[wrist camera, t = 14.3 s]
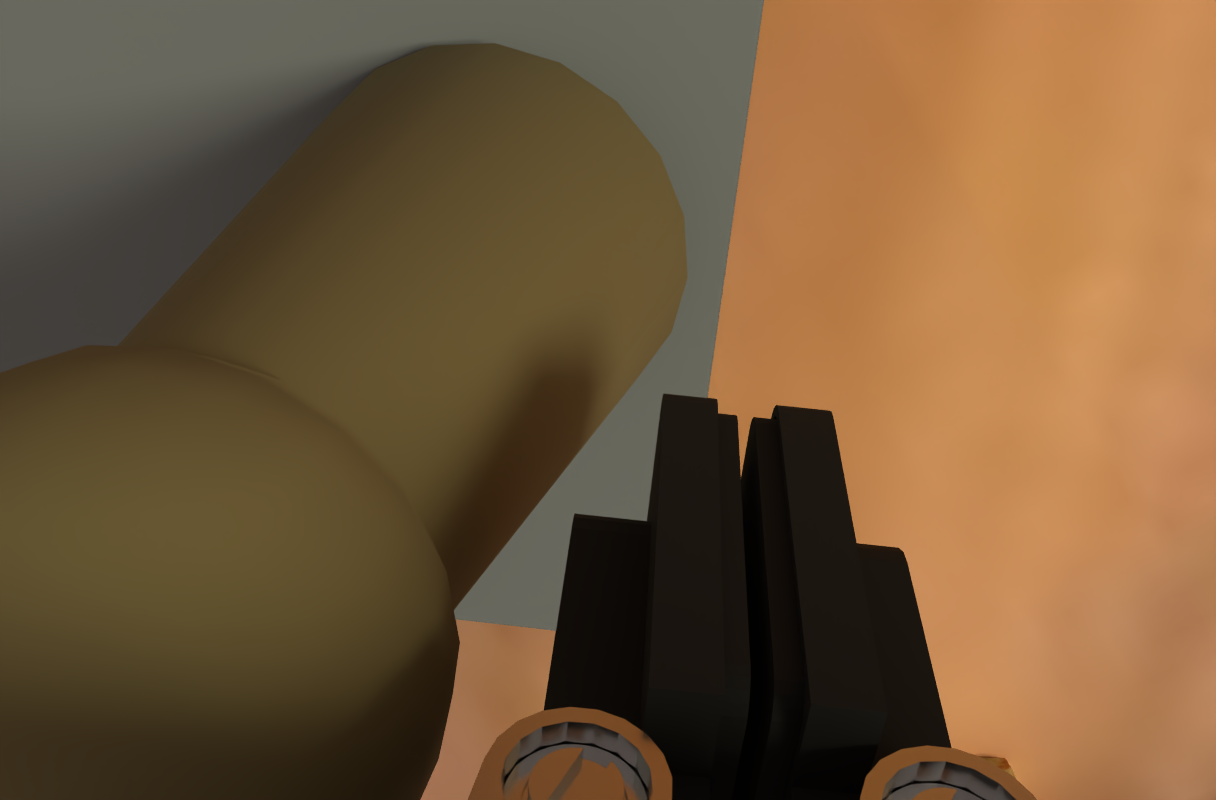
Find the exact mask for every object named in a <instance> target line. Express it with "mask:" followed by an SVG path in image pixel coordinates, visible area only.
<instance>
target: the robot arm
mask: <svg viewBox="0 0 1216 800" xmlns="http://www.w3.org/2000/svg"><path fill="white" fill-rule="evenodd" d="M468 800H1036V798H1035V797H1034V795H1033V794H1031V793H1030V792H1029V791H1028V790H1027V789H1026V788H1025V787H1024V786H1023V785H1022V784H1021V783H1020V782H1019V781H1017V780H1016V779H1015V778H1014V777H1013V776H1012V775H1011V774H1009V773H1007V772H1006V771H1004V770H1002V769H1001V768H999V767H997V766H996V765H994V764H992V763H991V762H989V761H987V760H986V759H984V758H981V757H978V756H975V755H972V754H969V753H967V752H964V751H961V750H958V749H954V748H951V744H950V740H949V735H948V731H947V727H946V723H945V719H944V714H943V710H942V706H941V702H940V698H939V693H938V689H937V685H936V681H935V677H934V673H933V668H932V664H931V660H930V656H929V652H928V647H927V643H926V639H925V635H924V631H923V626H922V622H921V618H920V614H919V610H918V605H917V601H916V597H915V593H914V589H913V585H912V580H911V576H910V572H909V568H908V564H907V561H906V558H905V555H904V552H903V551H902V550H900V549H899V548H895V547H886V546H876V545H867V544H858V543H856V538H855V532H854V527H853V522H852V516H851V511H850V505H849V500H848V494H847V489H846V484H845V478H844V473H843V467H842V462H841V457H840V451H839V446H838V440H837V435H836V429H835V424H834V419H833V415H832V412H831V411H827V410H818V409H808V408H798V407H789V406H779V405H776V406H775V408H774V410H773V413H772V417H771V419H766V418H756V417H753V419H752V422H751V425H750V430H749V436H748V442H747V447H746V453H745V459H744V465H743V470H742V476H741V475H740V456H739V437H738V420H737V416H736V415H728V414H718V403H717V399H712V398H703V397H693V396H683V395H674V394H664V393H663V396H662V403H661V410H660V418H659V426H658V434H657V442H656V450H655V458H654V466H653V475H652V483H651V491H650V499H649V507H648V515H647V521H641V520H631V519H622V518H613V517H603V516H594V515H584V514H574V517H573V523H572V529H571V536H570V542H569V549H568V555H567V562H566V568H565V575H564V581H563V588H562V595H561V601H560V608H559V614H558V621H557V627H556V634H555V640H554V647H553V654H552V660H551V667H550V673H549V680H548V686H547V693H546V699H545V706H544V711H541V712H538V713H536V714H533V715H531V716H528V717H526V718H524V719H521V720H519V721H517V722H516V723H515V724H513V725H512V726H511V727H510V728H508V729H507V730H506V731H505V732H503V733H502V734H501V735H500V736H498V737H497V739H496V740H495V742H494V744H493V745H492V747H491V748H490V750H489V752H488V753H487V755H486V756H485V758H484V760H483V763H482V765H481V768H480V770H479V773H478V775H477V778H476V780H475V783H474V785H473V788H472V790H471V793H470V795H469V798H468Z"/></svg>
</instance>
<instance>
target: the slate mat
mask: <svg viewBox="0 0 1216 800" xmlns="http://www.w3.org/2000/svg"><path fill="white" fill-rule="evenodd" d="M763 3H764V0H0V373H1V372H4V371H7V370H9V369H12V368H15V367H18V366H21V365H24V364H27V363H30V362H33V361H36V360H39V359H43V358H46V357H49V356H53V355H56V354H59V353H62V352H66V351H69V350H72V349H75V348H79V347H82V346H85V345H100V346H118V345H119V344H120V342H121V341H122V340H123V339H124V338H125V337H126V336H127V335H128V334H129V333H130V332H131V330H132V329H133V328H134V327H135V326H136V325H137V324H138V323H139V322H140V321H141V320H142V318H143V317H144V316H145V315H146V314H147V313H148V312H149V311H150V310H151V309H152V307H153V306H154V305H155V304H156V303H157V302H158V301H159V300H160V299H161V298H162V297H163V295H164V294H165V293H166V292H167V291H168V290H169V289H170V288H171V287H172V286H173V285H174V283H175V282H176V281H177V280H178V279H179V278H180V277H181V276H182V275H183V274H184V273H185V271H186V270H187V269H188V268H189V267H190V266H191V265H192V264H193V263H194V262H195V260H196V259H197V258H198V257H199V256H200V255H201V254H202V253H203V252H204V251H205V250H206V248H207V247H208V246H209V245H210V244H211V243H212V242H213V241H214V240H215V239H216V238H217V236H218V235H219V234H220V233H221V232H222V231H223V230H224V229H225V228H226V227H227V226H228V224H229V223H230V222H231V221H232V220H233V219H234V218H235V217H236V216H237V215H238V213H239V212H240V211H241V210H242V209H243V208H244V207H245V206H246V205H247V204H248V203H249V201H250V200H251V199H252V198H253V197H254V196H255V195H256V194H257V193H258V192H259V191H260V189H261V188H262V187H263V186H264V185H265V184H266V183H267V182H268V181H269V180H270V179H271V177H272V176H273V175H274V174H275V173H276V172H277V171H278V170H279V169H280V168H281V166H282V165H283V164H284V163H285V162H286V161H287V160H288V159H289V158H290V157H291V156H292V154H293V153H294V152H295V151H296V150H297V149H298V148H299V147H300V146H301V145H302V144H303V142H304V141H305V140H306V139H307V138H308V137H309V136H310V135H311V134H312V133H313V132H314V130H315V129H316V128H317V127H318V126H319V125H320V124H321V123H322V122H323V121H324V120H325V118H326V117H327V116H328V115H329V114H330V113H331V112H332V111H333V110H334V109H335V108H336V107H337V106H338V105H339V104H340V103H341V102H342V101H343V100H344V99H345V98H346V97H347V96H348V95H349V94H350V93H351V92H352V91H353V90H354V89H355V88H356V87H357V86H358V85H359V84H360V83H361V82H363V81H364V80H365V79H366V78H367V77H368V76H369V75H370V74H371V73H372V72H373V71H374V70H375V69H376V68H379V67H381V66H383V65H386V64H388V63H391V62H393V61H395V60H398V59H400V58H403V57H405V56H408V55H410V54H412V53H415V52H417V51H420V50H422V49H424V48H427V47H429V46H434V45H461V44H487V43H496V44H500V45H503V46H506V47H510V48H513V49H516V50H520V51H523V52H526V53H530V54H533V55H536V56H540V57H543V58H546V59H550V60H553V61H556V62H560V63H561V64H563V65H564V66H566V67H567V68H569V69H570V70H572V71H573V72H575V73H576V74H578V75H579V76H580V77H582V78H583V79H585V80H586V81H588V82H589V83H591V84H592V85H594V86H595V87H597V88H598V89H600V90H601V91H602V92H604V93H605V94H607V95H608V96H610V97H611V98H613V99H614V100H616V101H617V102H618V103H619V104H620V106H621V107H622V108H623V109H624V111H625V112H626V113H627V114H628V116H629V117H630V118H631V119H632V121H633V122H634V123H635V124H636V126H637V127H638V128H639V129H640V131H641V132H642V133H643V134H644V136H645V137H646V138H647V139H648V141H649V142H650V143H651V144H652V146H653V147H654V148H655V149H656V151H657V152H658V153H659V154H660V156H661V158H662V161H663V163H664V166H665V169H666V171H667V174H668V176H669V179H670V181H671V184H672V186H673V189H674V192H675V194H676V197H677V199H678V202H679V204H680V207H681V209H682V212H683V215H684V221H685V240H686V258H687V277H688V278H687V281H686V285H685V288H684V291H683V295H682V298H681V302H680V305H679V308H678V312H677V315H676V319H675V322H674V325H673V329H672V332H671V334H670V335H669V336H668V338H667V339H666V340H665V342H664V343H663V344H662V346H661V347H660V349H659V350H658V351H657V353H656V354H655V355H654V357H653V358H652V359H651V361H650V362H649V363H648V365H647V366H646V367H645V369H644V370H643V371H642V373H641V374H640V375H639V377H638V378H637V379H636V381H635V382H634V383H633V384H632V386H631V387H630V388H629V389H628V391H627V392H626V393H625V394H624V396H623V397H622V398H621V400H620V401H619V402H618V403H617V405H616V406H615V407H614V408H613V410H612V411H611V412H610V413H609V415H608V416H607V417H606V419H605V420H604V421H603V422H602V424H601V425H600V426H599V427H598V429H597V430H596V431H595V432H594V434H593V435H592V436H591V438H590V439H589V440H588V441H587V443H586V444H585V445H584V446H583V448H582V449H581V450H580V451H579V453H578V454H577V455H576V456H575V458H574V459H573V460H572V462H571V463H570V464H569V465H568V467H567V468H566V469H565V470H564V472H563V473H562V474H561V475H560V477H559V478H558V479H557V481H556V482H555V483H554V484H553V486H552V487H551V488H550V489H549V491H548V492H547V493H546V494H545V496H544V497H543V498H542V500H541V501H540V502H539V503H538V505H537V506H536V507H535V508H534V510H533V511H532V512H531V513H530V515H529V516H528V517H527V519H526V520H525V521H524V522H523V524H522V525H521V526H520V527H519V529H518V530H517V531H516V532H515V534H514V535H513V536H512V538H511V539H510V540H509V541H508V543H507V544H506V545H505V546H504V548H503V549H502V550H501V551H500V553H499V554H498V555H497V556H496V558H495V559H494V560H493V562H492V563H491V564H490V565H489V567H488V568H487V569H486V570H485V572H484V573H483V574H482V575H481V577H480V578H479V579H478V581H477V582H476V583H475V584H474V586H473V587H472V588H471V589H470V591H469V592H468V593H467V594H466V596H465V597H464V598H463V600H462V601H461V602H460V603H459V605H458V606H457V607H456V608H455V610H454V614H455V619H459V620H467V621H476V622H485V623H493V624H502V625H511V626H520V627H528V628H537V629H546V630H554V631H556V627H557V621H558V614H559V608H560V601H561V595H562V588H563V581H564V575H565V568H566V562H567V555H568V549H569V542H570V536H571V529H572V523H573V517H574V514H584V515H594V516H603V517H613V518H622V519H631V520H641V521H647V515H648V507H649V499H650V491H651V483H652V475H653V466H654V458H655V450H656V442H657V434H658V426H659V418H660V410H661V403H662V396H663V393H664V394H674V395H683V396H693V397H703V398H707V397H708V390H709V383H710V376H711V369H712V362H713V355H714V348H715V341H716V333H717V326H718V319H719V312H720V305H721V298H722V291H723V284H724V277H725V270H726V263H727V256H728V249H729V242H730V235H731V228H732V221H733V214H734V207H735V200H736V193H737V186H738V179H739V172H740V165H741V158H742V151H743V144H744V137H745V129H746V122H747V115H748V108H749V101H750V94H751V87H752V80H753V73H754V66H755V59H756V52H757V45H758V38H759V31H760V24H761V17H762V10H763Z"/></svg>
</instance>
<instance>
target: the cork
mask: <svg viewBox="0 0 1216 800" xmlns="http://www.w3.org/2000/svg"><path fill="white" fill-rule="evenodd" d="M687 278H688V277H687V258H686V240H685V221H684V215H683V212H682V209H681V207H680V204H679V202H678V199H677V197H676V194H675V192H674V189H673V186H672V184H671V181H670V179H669V176H668V174H667V171H666V169H665V166H664V163H663V161H662V158H661V156H660V154H659V153H658V152H657V151H656V149H655V148H654V147H653V146H652V144H651V143H650V142H649V141H648V139H647V138H646V137H645V136H644V134H643V133H642V132H641V131H640V129H639V128H638V127H637V126H636V124H635V123H634V122H633V121H632V119H631V118H630V117H629V116H628V114H627V113H626V112H625V111H624V109H623V108H622V107H621V106H620V104H619V103H618V102H617V101H616V100H614V99H613V98H611V97H610V96H608V95H607V94H605V93H604V92H602V91H601V90H600V89H598V88H597V87H595V86H594V85H592V84H591V83H589V82H588V81H586V80H585V79H583V78H582V77H580V76H579V75H578V74H576V73H575V72H573V71H572V70H570V69H569V68H567V67H566V66H564V65H563V64H561V63H560V62H556V61H553V60H550V59H546V58H543V57H540V56H536V55H533V54H530V53H526V52H523V51H520V50H516V49H513V48H510V47H506V46H503V45H500V44H496V43H487V44H461V45H434V46H429V47H427V48H424V49H422V50H420V51H417V52H415V53H412V54H410V55H408V56H405V57H403V58H400V59H398V60H395V61H393V62H391V63H388V64H386V65H383V66H381V67H379V68H376V69H375V70H374V71H373V72H372V73H371V74H370V75H369V76H368V77H367V78H366V79H365V80H364V81H363V82H361V83H360V84H359V85H358V86H357V87H356V88H355V89H354V90H353V91H352V92H351V93H350V94H349V95H348V96H347V97H346V98H345V99H344V100H343V101H342V102H341V103H340V104H339V105H338V106H337V107H336V108H335V109H334V110H333V111H332V112H331V113H330V114H329V115H328V116H327V117H326V118H325V120H324V121H323V122H322V123H321V124H320V125H319V126H318V127H317V128H316V129H315V130H314V132H313V133H312V134H311V135H310V136H309V137H308V138H307V139H306V140H305V141H304V142H303V144H302V145H301V146H300V147H299V148H298V149H297V150H296V151H295V152H294V153H293V154H292V156H291V157H290V158H289V159H288V160H287V161H286V162H285V163H284V164H283V165H282V166H281V168H280V169H279V170H278V171H277V172H276V173H275V174H274V175H273V176H272V177H271V179H270V180H269V181H268V182H267V183H266V184H265V185H264V186H263V187H262V188H261V189H260V191H259V192H258V193H257V194H256V195H255V196H254V197H253V198H252V199H251V200H250V201H249V203H248V204H247V205H246V206H245V207H244V208H243V209H242V210H241V211H240V212H239V213H238V215H237V216H236V217H235V218H234V219H233V220H232V221H231V222H230V223H229V224H228V226H227V227H226V228H225V229H224V230H223V231H222V232H221V233H220V234H219V235H218V236H217V238H216V239H215V240H214V241H213V242H212V243H211V244H210V245H209V246H208V247H207V248H206V250H205V251H204V252H203V253H202V254H201V255H200V256H199V257H198V258H197V259H196V260H195V262H194V263H193V264H192V265H191V266H190V267H189V268H188V269H187V270H186V271H185V273H184V274H183V275H182V276H181V277H180V278H179V279H178V280H177V281H176V282H175V283H174V285H173V286H172V287H171V288H170V289H169V290H168V291H167V292H166V293H165V294H164V295H163V297H162V298H161V299H160V300H159V301H158V302H157V303H156V304H155V305H154V306H153V307H152V309H151V310H150V311H149V312H148V313H147V314H146V315H145V316H144V317H143V318H142V320H141V321H140V322H139V323H138V324H137V325H136V326H135V327H134V328H133V329H132V330H131V332H130V333H129V334H128V335H127V336H126V337H125V338H124V339H123V340H122V341H121V342H120V344H119V345H118V346H100V345H85V346H82V347H79V348H75V349H72V350H69V351H66V352H62V353H59V354H56V355H53V356H49V357H46V358H43V359H39V360H36V361H33V362H30V363H27V364H24V365H21V366H18V367H15V368H12V369H9V370H7V371H4V372H1V373H0V800H420V799H421V797H422V795H423V792H424V790H425V788H426V786H427V783H428V781H429V779H430V777H431V775H432V772H433V770H434V768H435V766H436V763H437V761H438V759H439V754H440V749H441V745H442V740H443V736H444V731H445V727H446V722H447V717H448V713H449V708H450V704H451V699H452V695H453V687H454V680H455V673H456V666H457V659H458V651H459V644H460V641H459V636H458V631H457V625H456V620H455V614H454V610H455V608H456V607H457V606H458V605H459V603H460V602H461V601H462V600H463V598H464V597H465V596H466V594H467V593H468V592H469V591H470V589H471V588H472V587H473V586H474V584H475V583H476V582H477V581H478V579H479V578H480V577H481V575H482V574H483V573H484V572H485V570H486V569H487V568H488V567H489V565H490V564H491V563H492V562H493V560H494V559H495V558H496V556H497V555H498V554H499V553H500V551H501V550H502V549H503V548H504V546H505V545H506V544H507V543H508V541H509V540H510V539H511V538H512V536H513V535H514V534H515V532H516V531H517V530H518V529H519V527H520V526H521V525H522V524H523V522H524V521H525V520H526V519H527V517H528V516H529V515H530V513H531V512H532V511H533V510H534V508H535V507H536V506H537V505H538V503H539V502H540V501H541V500H542V498H543V497H544V496H545V494H546V493H547V492H548V491H549V489H550V488H551V487H552V486H553V484H554V483H555V482H556V481H557V479H558V478H559V477H560V475H561V474H562V473H563V472H564V470H565V469H566V468H567V467H568V465H569V464H570V463H571V462H572V460H573V459H574V458H575V456H576V455H577V454H578V453H579V451H580V450H581V449H582V448H583V446H584V445H585V444H586V443H587V441H588V440H589V439H590V438H591V436H592V435H593V434H594V432H595V431H596V430H597V429H598V427H599V426H600V425H601V424H602V422H603V421H604V420H605V419H606V417H607V416H608V415H609V413H610V412H611V411H612V410H613V408H614V407H615V406H616V405H617V403H618V402H619V401H620V400H621V398H622V397H623V396H624V394H625V393H626V392H627V391H628V389H629V388H630V387H631V386H632V384H633V383H634V382H635V381H636V379H637V378H638V377H639V375H640V374H641V373H642V371H643V370H644V369H645V367H646V366H647V365H648V363H649V362H650V361H651V359H652V358H653V357H654V355H655V354H656V353H657V351H658V350H659V349H660V347H661V346H662V344H663V343H664V342H665V340H666V339H667V338H668V336H669V335H670V334H671V332H672V329H673V325H674V322H675V319H676V315H677V312H678V308H679V305H680V302H681V298H682V295H683V291H684V288H685V285H686V281H687Z"/></svg>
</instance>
